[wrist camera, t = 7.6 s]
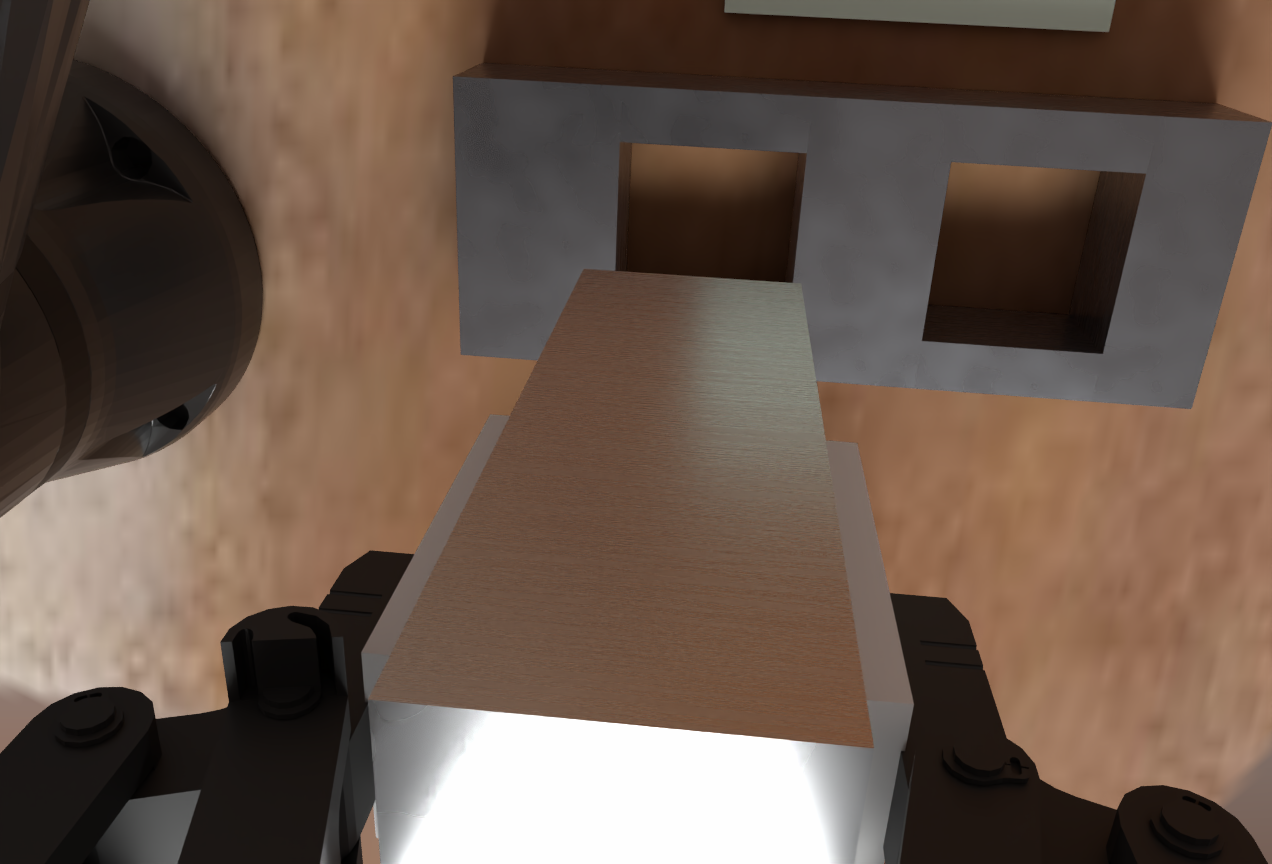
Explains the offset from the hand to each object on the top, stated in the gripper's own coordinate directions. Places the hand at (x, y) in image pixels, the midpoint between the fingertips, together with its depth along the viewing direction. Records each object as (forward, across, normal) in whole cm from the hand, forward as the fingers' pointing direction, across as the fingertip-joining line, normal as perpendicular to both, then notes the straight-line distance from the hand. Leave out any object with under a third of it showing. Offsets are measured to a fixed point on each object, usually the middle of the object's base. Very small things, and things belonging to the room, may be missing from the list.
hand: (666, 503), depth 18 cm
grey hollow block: (+22, +4, 0) cm, 22 cm away
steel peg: (+6, 0, 0) cm, 6 cm away
